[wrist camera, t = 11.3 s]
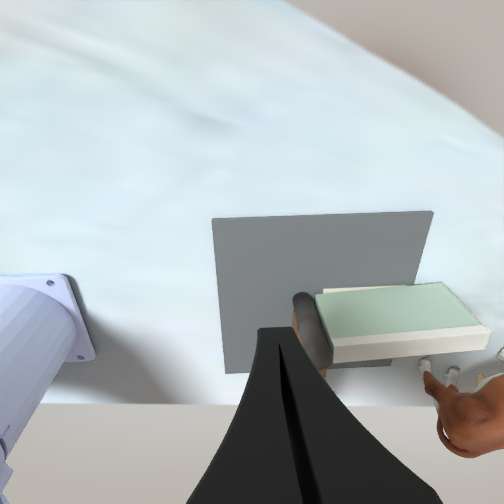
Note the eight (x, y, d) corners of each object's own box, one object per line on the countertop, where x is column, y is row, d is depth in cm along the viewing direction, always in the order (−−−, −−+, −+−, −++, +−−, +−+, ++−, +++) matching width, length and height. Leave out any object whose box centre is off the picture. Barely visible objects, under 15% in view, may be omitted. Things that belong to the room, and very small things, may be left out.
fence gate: (314, 308, 23) (333, 363, 19) (315, 293, 22) (334, 346, 18) (438, 297, 23) (484, 349, 19) (442, 281, 22) (491, 332, 18)
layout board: (225, 370, 27) (225, 374, 27) (211, 218, 20) (211, 220, 20) (389, 363, 27) (390, 366, 27) (431, 210, 20) (433, 212, 20)
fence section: (288, 373, 27) (299, 442, 22) (292, 292, 23) (308, 353, 18) (304, 373, 27) (320, 440, 22) (312, 291, 23) (333, 352, 18)
